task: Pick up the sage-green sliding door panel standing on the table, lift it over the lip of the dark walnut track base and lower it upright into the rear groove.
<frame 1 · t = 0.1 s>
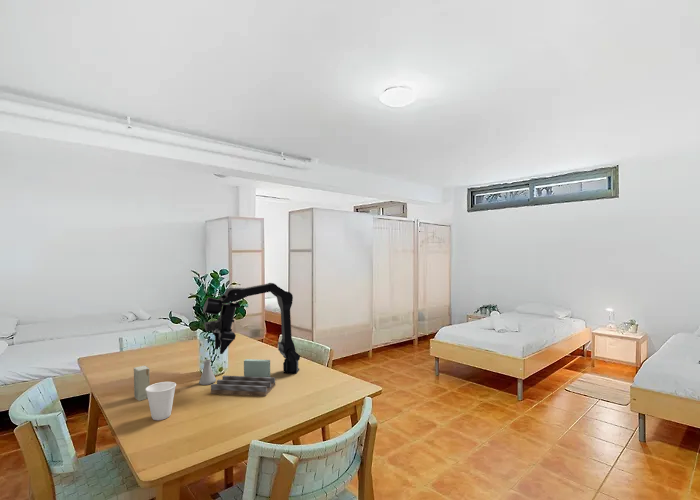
hand: (218, 351, 161), 15 cm above the table, tool pointing down, fingers open, 9 cm apart
track base: (243, 389, 157), on the table
skincare box: (142, 398, 149), on the table
flask: (207, 382, 166), on the table
cup: (161, 417, 132), on the table
door panel: (257, 377, 172), on the table
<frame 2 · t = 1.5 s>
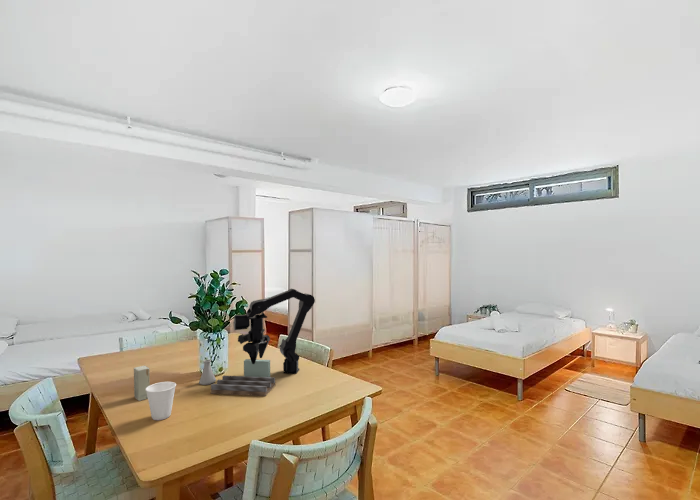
hand: (257, 360, 172), 8 cm above the table, tool pointing down, fingers open, 9 cm apart
nothing on the table moved.
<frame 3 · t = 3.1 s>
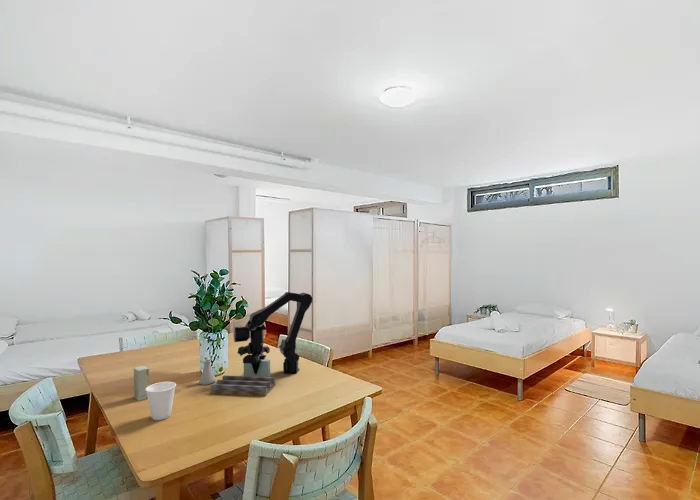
hand: (257, 372, 172), 2 cm above the table, tool pointing down, fingers closed on door panel, 2 cm apart
door panel: (257, 377, 172), on the table, touching gripper
everything else where it was.
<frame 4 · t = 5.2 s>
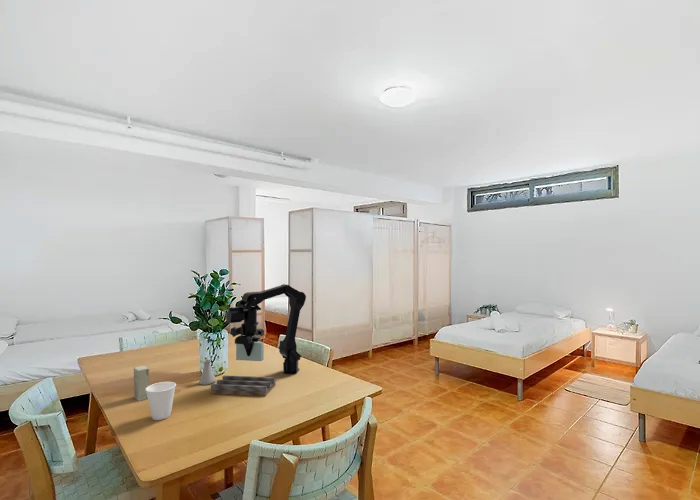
hand: (250, 355, 165), 12 cm above the table, tool pointing down, fingers closed on door panel, 2 cm apart
door panel: (249, 359, 165), point 10 cm above the table, touching gripper
everything else where it was.
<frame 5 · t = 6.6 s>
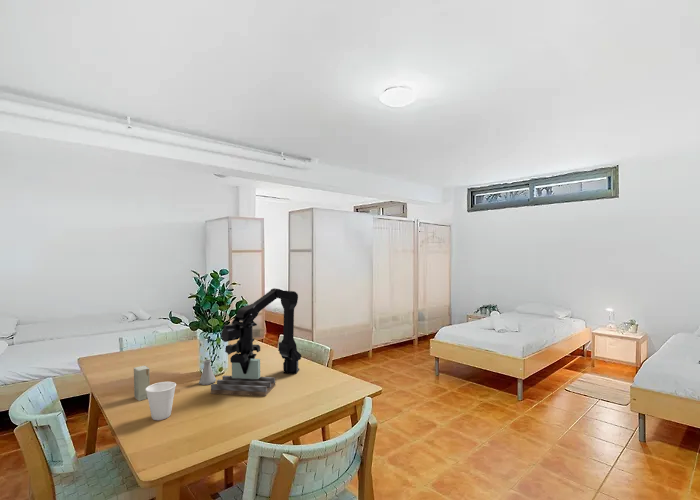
hand: (246, 372, 160), 6 cm above the table, tool pointing down, fingers closed on door panel, 2 cm apart
door panel: (246, 377, 160), point 4 cm above the table, touching gripper
everything else where it was.
when the fingers open (4 cm above the table, at t = 7.5 s): door panel stays where it is, resting on track base.
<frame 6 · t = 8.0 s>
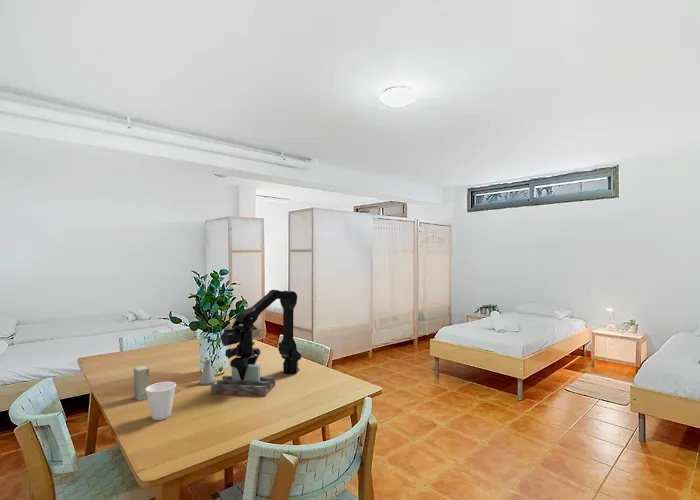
hand: (246, 376, 160), 4 cm above the table, tool pointing down, fingers open, 8 cm apart
door panel: (246, 383, 160), point 1 cm above the table, touching track base
everything else where it was.
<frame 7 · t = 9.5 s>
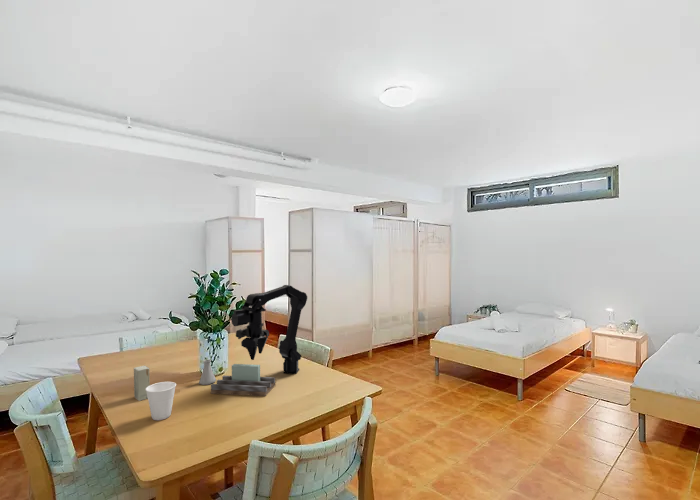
hand: (256, 356, 165), 12 cm above the table, tool pointing down, fingers open, 9 cm apart
nothing on the table moved.
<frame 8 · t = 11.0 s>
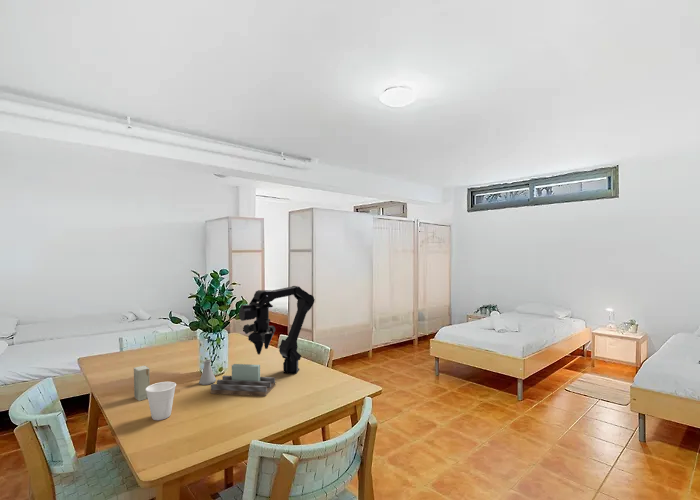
hand: (262, 351, 168), 13 cm above the table, tool pointing down, fingers open, 9 cm apart
nothing on the table moved.
at the end: door panel inside the target area on the track base (0.1 cm from its centre), point 1.5 cm above the track base's base; door panel tilted 0°; the gripper is holding nothing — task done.
